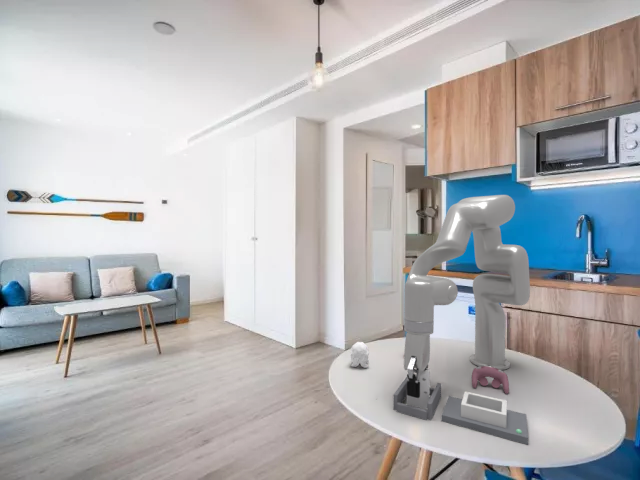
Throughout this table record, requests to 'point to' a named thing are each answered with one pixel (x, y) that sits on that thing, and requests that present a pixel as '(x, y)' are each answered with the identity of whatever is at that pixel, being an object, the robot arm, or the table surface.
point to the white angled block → (421, 391)
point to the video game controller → (492, 372)
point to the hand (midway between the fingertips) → (418, 388)
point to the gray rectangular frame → (414, 411)
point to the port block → (486, 416)
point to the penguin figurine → (359, 355)
